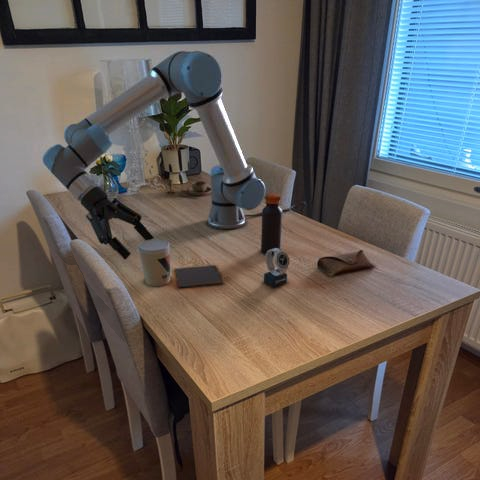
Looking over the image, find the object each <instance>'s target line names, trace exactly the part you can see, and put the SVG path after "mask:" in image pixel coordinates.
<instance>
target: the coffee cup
mask: <svg viewBox="0 0 480 480" xmlns="http://www.w3.org/2000/svg"><path fill="white" fill-rule="evenodd" d="M137 250H138V252H139V257H140V261H141V267H142V272H143V277H144V281H145V283H146V284H147V286H151V287H161V286H165V285H167V284H169V283H170V282H171V245H170V243H169V242H168V240H165V239H160V238H153V239H151V240H144V241H141V242H140V243H139V245H138V249H137Z"/></svg>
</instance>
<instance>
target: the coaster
mask: <svg viewBox="0 0 480 480" xmlns="http://www.w3.org/2000/svg"><path fill="white" fill-rule="evenodd" d="M175 275H176V279H177V284H178V288H179V289H185V288H186V289H187V288H196V287H197V288H198V287H205V286H207V287H208V286H218V285H222V281H221V278H220V275H219V273H218V270H217V267H216V265H214V264H213V265H203V266H191V267H190V266H189V267H180V268H175Z"/></svg>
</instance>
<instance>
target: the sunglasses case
mask: <svg viewBox="0 0 480 480" xmlns="http://www.w3.org/2000/svg"><path fill="white" fill-rule="evenodd" d="M316 264H317V265H316V266H317V268H318V270H320V271H321V272H322V273H323V274H325V275H327V276H329V277H334V276H337V275H341V274H347V273H352V272H357V271H362V270H366V269H370V268H374V267H375V265H374V264H372V262H371V261H370V260H369V258H368V257H367V255H366V254H365V253H364V250H363V249H360V250H355V251H351V252H345V253H340V254H334V255H330V256H329V255H328V256H323V257H320V258H318V259H317V263H316Z"/></svg>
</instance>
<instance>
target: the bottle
mask: <svg viewBox="0 0 480 480" xmlns="http://www.w3.org/2000/svg"><path fill="white" fill-rule="evenodd" d="M264 198H265V199H264V200H265V206H264V207H263V208H262V211H261V213H262V215H261V237H260V238H261V239H260V251H261V253H262V254H264V255H266V253H267V251H268V250H271V249H274V248H279V249H281V241H282V224H283V223H282V222H283V212H282V210H283V209H282V208H281V207H280V204H281V194H278V193H267V194H265V197H264ZM274 253H275V252H274V251H272V254H271V256H274Z"/></svg>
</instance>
